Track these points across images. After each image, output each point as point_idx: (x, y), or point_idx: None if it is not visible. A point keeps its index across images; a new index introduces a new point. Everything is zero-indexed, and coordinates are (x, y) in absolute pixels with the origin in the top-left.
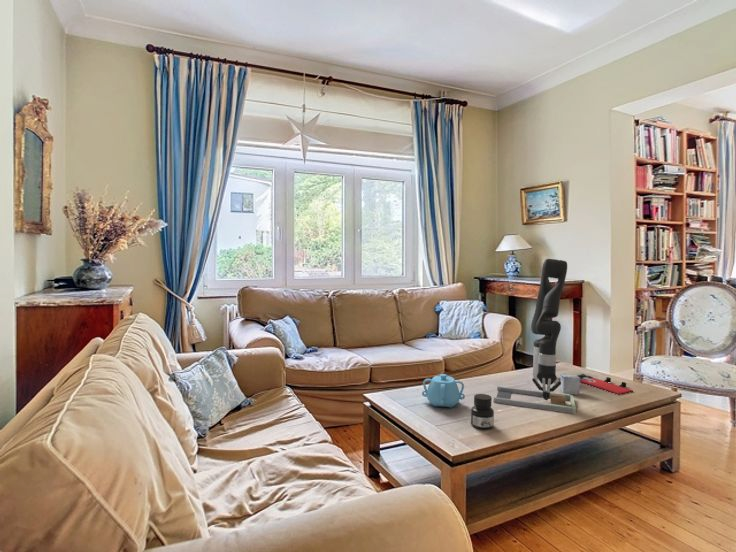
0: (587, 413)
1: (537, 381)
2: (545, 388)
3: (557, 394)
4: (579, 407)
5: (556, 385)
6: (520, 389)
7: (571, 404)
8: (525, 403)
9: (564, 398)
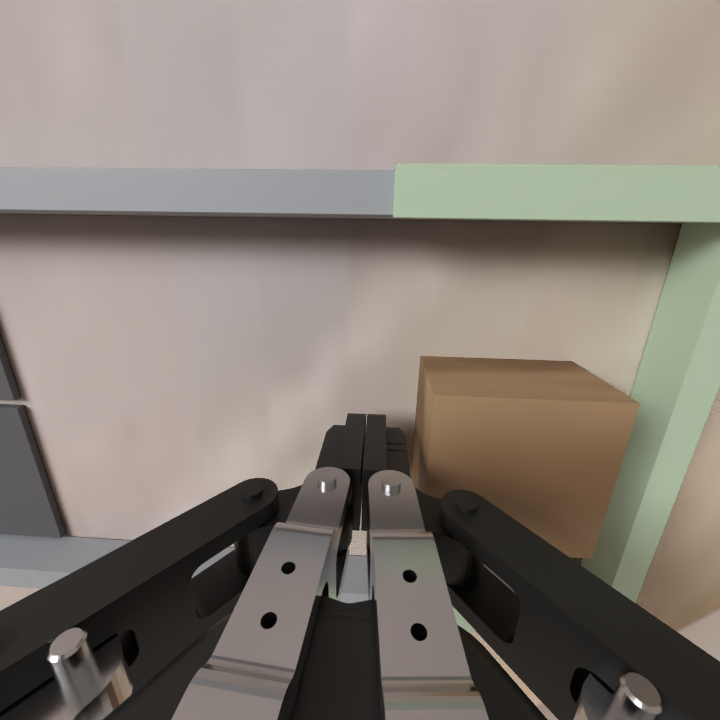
0: (712, 559)
1: (129, 687)
2: (340, 591)
3: (526, 412)
4: (699, 440)
5: (567, 710)
6: (8, 191)
7: (631, 466)
8: None
9: (586, 534)
